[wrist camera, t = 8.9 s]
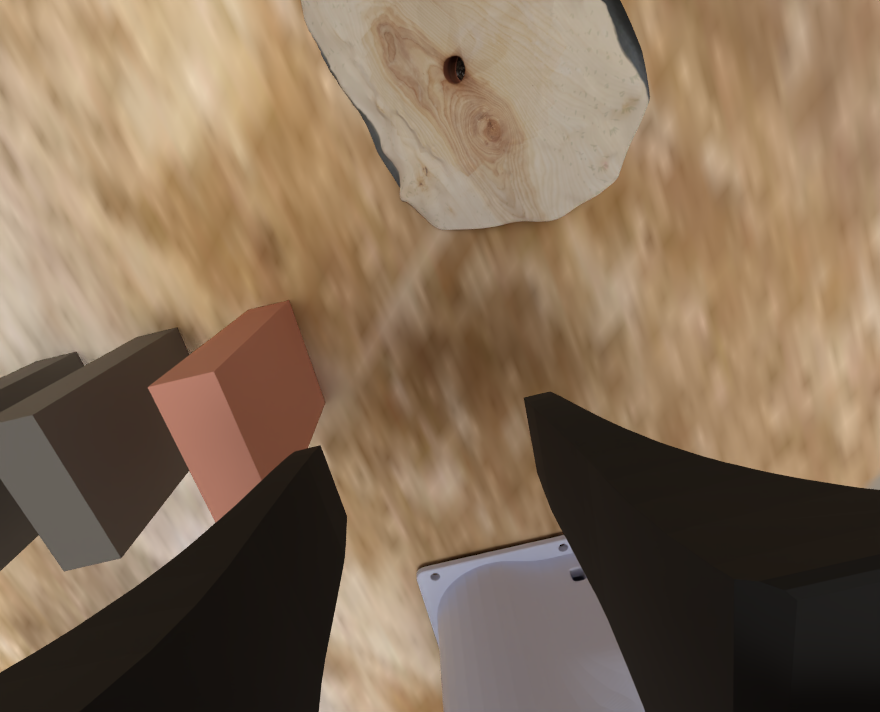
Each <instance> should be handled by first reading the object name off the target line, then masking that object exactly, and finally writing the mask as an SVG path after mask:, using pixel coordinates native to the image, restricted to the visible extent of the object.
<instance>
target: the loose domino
mask: <svg viewBox="0 0 880 712" xmlns="http://www.w3.org/2000/svg"><path fill="white" fill-rule="evenodd" d="M148 389H149V391H150V393H151V395H152V397H153V399H154V401H155V403H156V405H157V407H158V409H159V411H160V413H161V415H162V417H163V419H164V421H165V423H166V425H167V427H168V429H169V431H170V433H171V435H172V437H173V439H174V441H175V443H176V445H177V447H178V449H179V451H180V453H181V455H182V457H183V459H184V461H185V463H186V465H187V467H188V469H189V471H190V473H191V475H192V477H193V479H194V481H195V483H196V485H197V487H198V489H199V491H200V493H201V495H202V497H203V499H204V501H205V503H206V504H207V506H208V508H209V510H210V512H211V514H212V516H213V518H214V520H215V522H217V521H218V520H219V519H220V518H222V517H223V516H224V515H225V514H226V513H227V512H228V511H230V510H231V509H232V508H233V507H234V506H235V505H236V504H237V503H238V502H239V501H240V500H241V499H243V498H244V497H245V496H246V495H247V494H248V493H249V492H250V491H251V490H252V489H253V488H254V487H255V486H256V485H257V484H258V483H259V482H261V481H262V480H263V479H264V478H265V477H266V476H267V475H268V474H269V473H270V472H271V471H272V470H273V469H274V468H275V467H276V466H278V465H279V464H280V463H281V462H282V461H283V460H284V459H285V458H287V457H288V456H289V455H290V454H292V453H293V452H295V451H298V450H303V449H307V448H308V446H309V444H310V441H311V438H312V436H313V433H314V431H315V428H316V426H317V423H318V420H319V418H320V415H321V413H322V410H323V407H324V405H325V401H324V398H323V395H322V392H321V389H320V387H319V384H318V381H317V378H316V375H315V372H314V370H313V367H312V364H311V361H310V358H309V355H308V353H307V350H306V347H305V344H304V341H303V338H302V336H301V333H300V330H299V327H298V324H297V321H296V319H295V316H294V313H293V310H292V307H291V304H290V301H289V300H288V301H284V302H279V303H275V304H271V305H267V306H263V307H258V308H254V309H250V310H247V311H246V312H245V313H243V314H242V315H241V316H240V317H238V318H237V319H236V320H234V321H233V322H232V323H230V324H229V325H228V326H227V327H225V328H224V329H223V330H221V331H220V332H219V333H217V334H216V335H215V336H214V337H212V338H211V339H210V340H208V341H207V342H206V343H204V344H203V345H202V346H201V347H199V348H198V349H197V350H195V351H194V352H193V353H191V354H190V355H189V356H187V357H186V358H185V359H184V360H182V361H181V362H180V363H178V364H177V365H176V366H174V367H173V368H172V369H171V370H169V371H168V372H167V373H165V374H164V375H163V376H161V377H160V378H159V379H158V380H156V381H155V382H154V383H152V384H151V385H150V386H148Z"/></svg>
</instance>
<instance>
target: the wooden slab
mask: <svg viewBox="0 0 880 712" xmlns="http://www.w3.org/2000/svg"><path fill="white" fill-rule="evenodd" d="M301 4H302V9H303V14H304V19H305V22H306V25H307V27H308V29H309V31H310V33H311V34H312V37H313V38H314V40H315V41H316V43H317V45H318V47H319V49H320V51H321V55H322V57H323V59H324V61H325V62H326V64H327V66H328V68H329V70H330V72H331V73H332V75H333V76H334V77H335V79H336V80H337V82H338V84H339V85H340V87H341V88H342V89H343V91H344V92H345V93H346V95H347V96H348V98H349V99H350V100H351V102H352V103H353V105H354V106H355V107H356V108H357V110H358V111H359V113H360V114H361V116H362V118H363V120H364V121H365V123H366V125H367V127H368V129H369V132H370V134H371V136H372V139H373V141H374V144H375V147H376V150H377V152H378V154H379V155H380V157H381V159H382V160H383V162H384V164H385V165H386V167H387V168H388V170H389V171H390V173H391V174H392V176H393V177H394V179H395V181H396V182H397V184H398V185H399V187H400V199H401V200H402V201H405V202H408V203H409V204H410V205H412V206H413V207H414V208H415V209H416V210H417V211H418V212H419V213H420V214H421V215H422V216H423V217H425V219H426V220H427V221H428V222H430V223H431V224H432V225H433V226H435V227H436V228H438V229H443V230H454V229H480V228H488V227H494V226H500V225H504V224H508V223H512V222H518V221H534V222H542V221H551V220H555V219H558V218H560V217H562V216H564V215H566V214H567V213H568V212H570V211H571V210H572V209H574V208H575V207H577V206H578V205H580V204H582V203H584V202H585V201H587V200H589V199H591V198H593V197H595V196H596V195H598V194H599V193H601V192H602V191H603V190H605V189H606V188H607V187H608V186H610V185H611V184H612V183H613V182H614V181H615V180H616V179H617V177H618V176H619V173H620V170H621V167H622V164H623V161H624V158H625V156H626V153H627V150H628V148H629V146H630V143H631V141H632V139H633V137H634V135H635V133H636V131H637V129H638V127H639V125H640V123H641V120H642V118H643V115H644V113H645V110H646V108H647V105H648V103H649V99H650V95H649V86H648V80H647V74H646V68H645V63H644V58H643V54H642V50H641V47H640V44H639V42H638V39H637V37H636V35H635V32H634V30H633V27H632V25H631V23H630V20H629V18H628V16H627V14H626V11H625V9H624V7H623V5H622V3H621V1H620V0H301Z"/></svg>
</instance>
